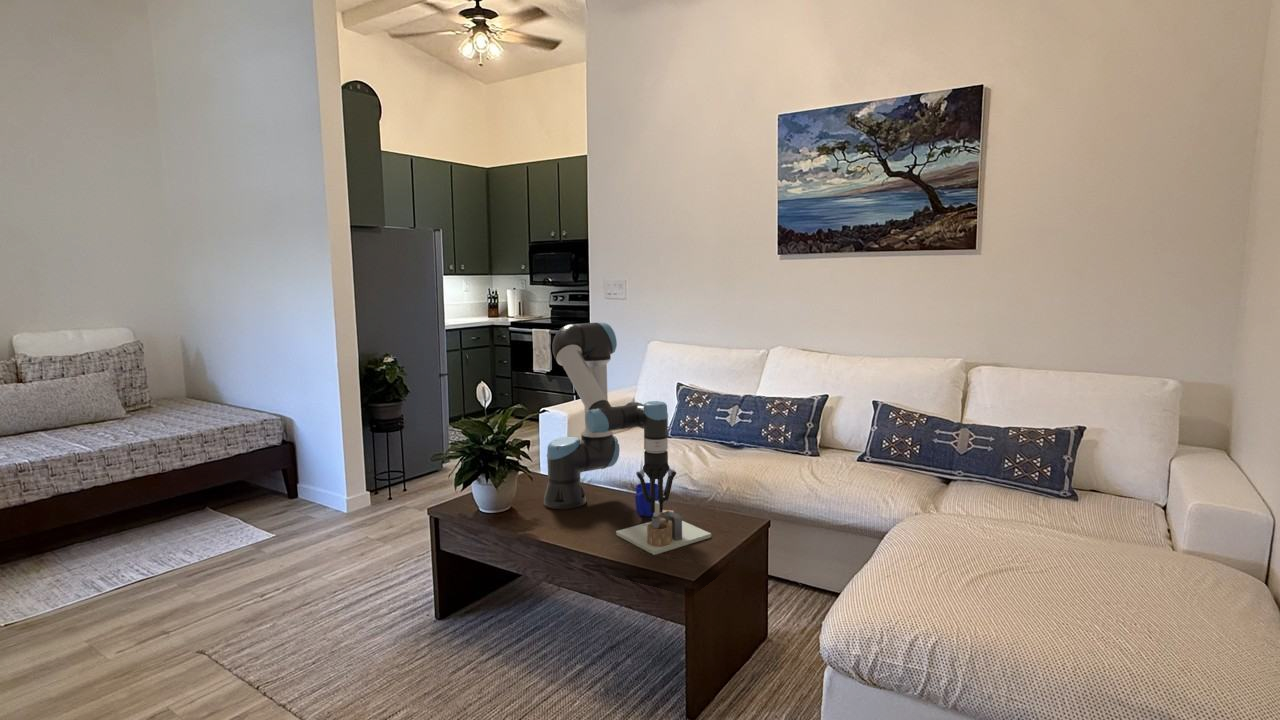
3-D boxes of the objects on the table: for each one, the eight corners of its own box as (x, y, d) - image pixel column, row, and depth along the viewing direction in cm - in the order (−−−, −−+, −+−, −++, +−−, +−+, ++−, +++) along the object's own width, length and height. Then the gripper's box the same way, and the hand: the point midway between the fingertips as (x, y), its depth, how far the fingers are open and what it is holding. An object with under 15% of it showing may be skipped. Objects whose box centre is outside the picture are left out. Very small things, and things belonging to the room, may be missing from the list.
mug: (626, 519, 234) (626, 491, 233) (643, 508, 245) (642, 481, 243) (648, 523, 230) (647, 494, 229) (663, 512, 241) (663, 484, 240)
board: (616, 534, 221) (616, 531, 221) (671, 519, 234) (671, 515, 234) (654, 555, 205) (654, 551, 205) (711, 537, 218) (711, 533, 218)
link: (657, 524, 226) (657, 509, 226) (678, 525, 225) (678, 510, 224) (645, 545, 209) (645, 529, 208) (668, 547, 207) (668, 531, 207)
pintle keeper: (644, 542, 214) (644, 514, 213) (670, 535, 220) (670, 507, 219) (659, 550, 208) (659, 521, 207) (685, 542, 214) (685, 514, 213)
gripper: (637, 454, 216) (638, 527, 219) (678, 452, 218) (678, 524, 221) (633, 448, 223) (634, 519, 226) (673, 446, 225) (673, 516, 228)
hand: (656, 521), depth 223 cm, fingers closed
